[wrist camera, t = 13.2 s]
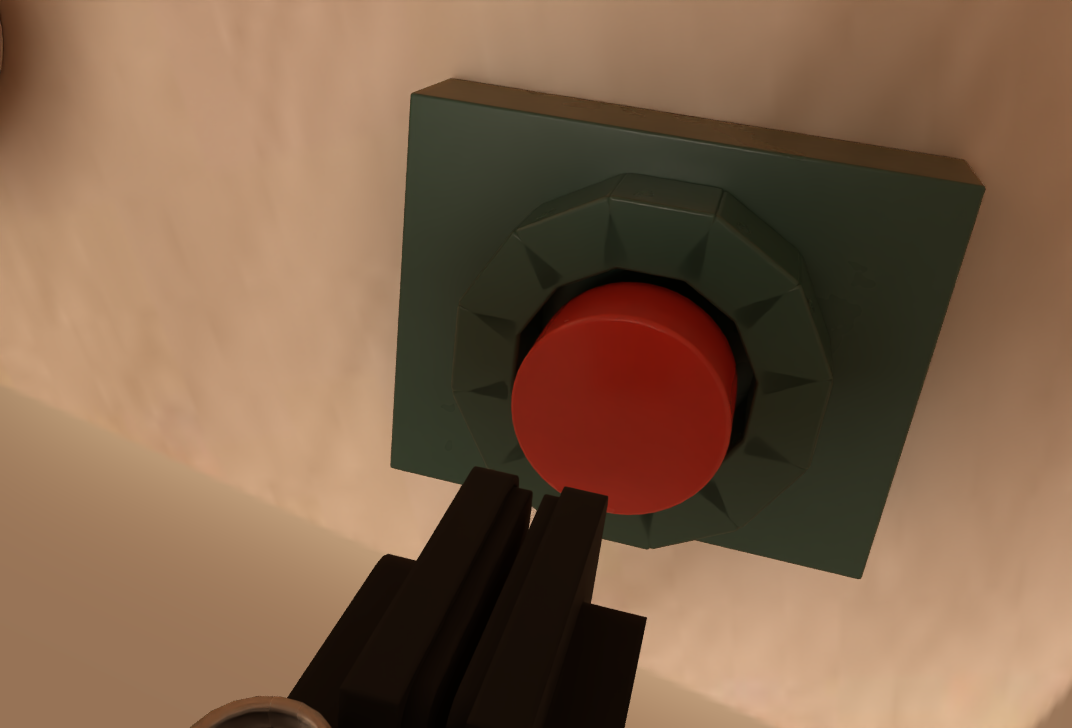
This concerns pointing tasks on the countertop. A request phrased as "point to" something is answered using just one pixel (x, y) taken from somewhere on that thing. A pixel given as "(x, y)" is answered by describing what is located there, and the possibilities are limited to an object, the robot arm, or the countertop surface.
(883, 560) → the countertop surface
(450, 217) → the button housing
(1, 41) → the cup
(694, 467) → the button
